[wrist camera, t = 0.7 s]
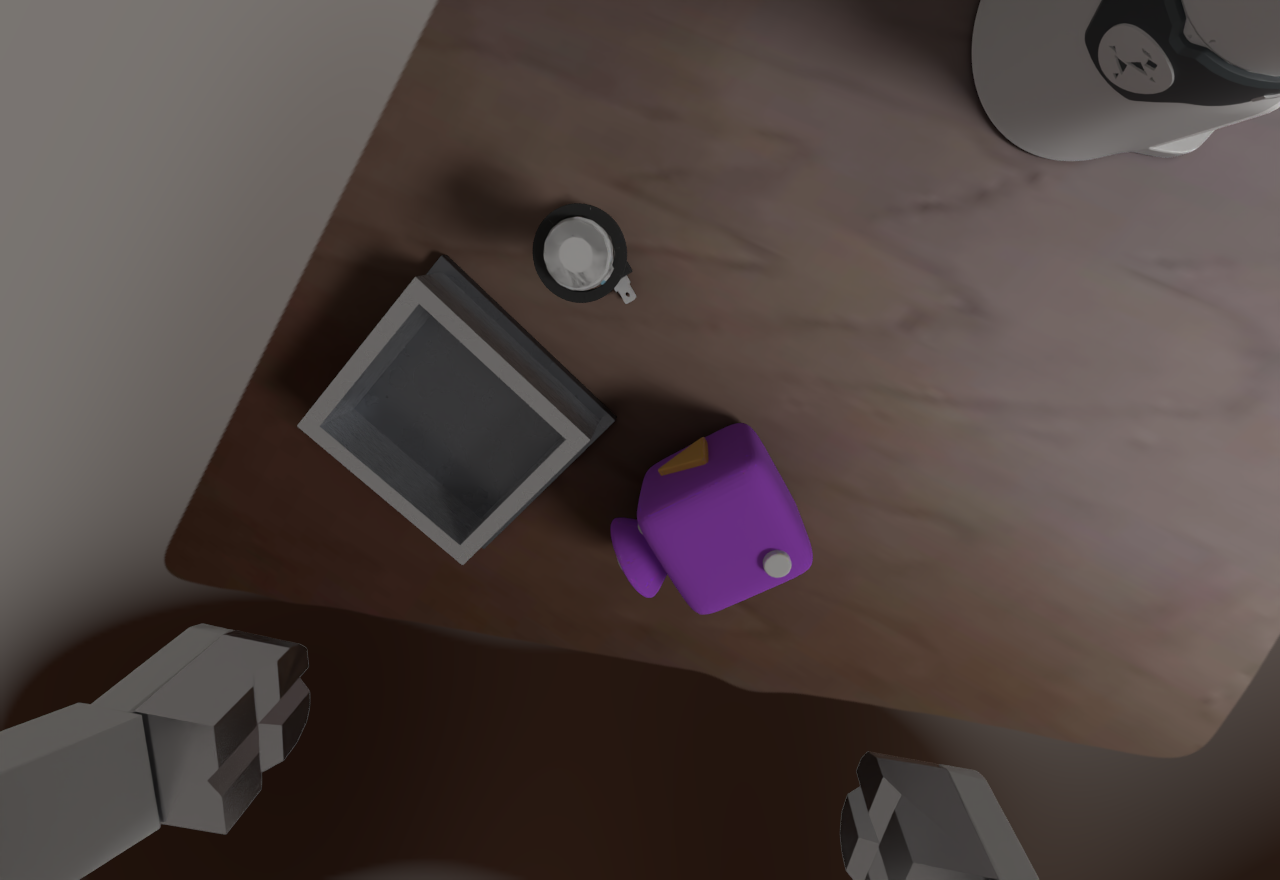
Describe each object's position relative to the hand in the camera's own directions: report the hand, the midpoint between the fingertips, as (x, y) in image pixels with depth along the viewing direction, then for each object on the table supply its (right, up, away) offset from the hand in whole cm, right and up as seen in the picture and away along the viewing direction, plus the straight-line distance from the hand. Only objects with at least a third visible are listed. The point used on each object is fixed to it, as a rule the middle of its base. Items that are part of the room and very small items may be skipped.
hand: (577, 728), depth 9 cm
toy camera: (+6, 0, +39) cm, 40 cm away
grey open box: (-12, +7, +38) cm, 41 cm away
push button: (-1, +17, +34) cm, 38 cm away
